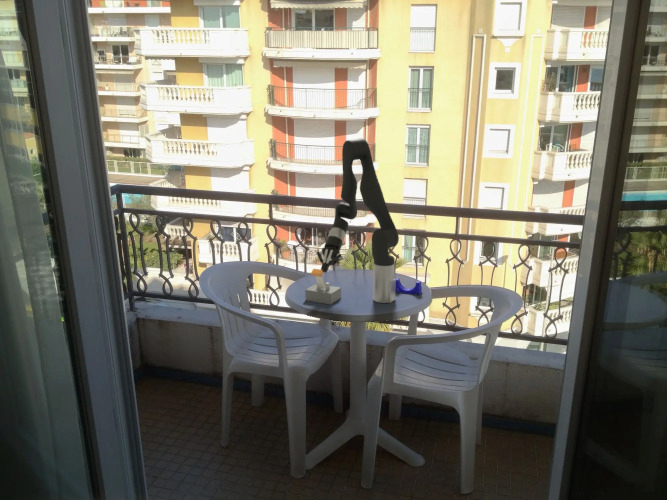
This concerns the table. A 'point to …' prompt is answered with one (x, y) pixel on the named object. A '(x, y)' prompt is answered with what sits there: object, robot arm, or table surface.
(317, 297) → the block
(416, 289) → the cable clip
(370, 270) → the table surface
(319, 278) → the lever
